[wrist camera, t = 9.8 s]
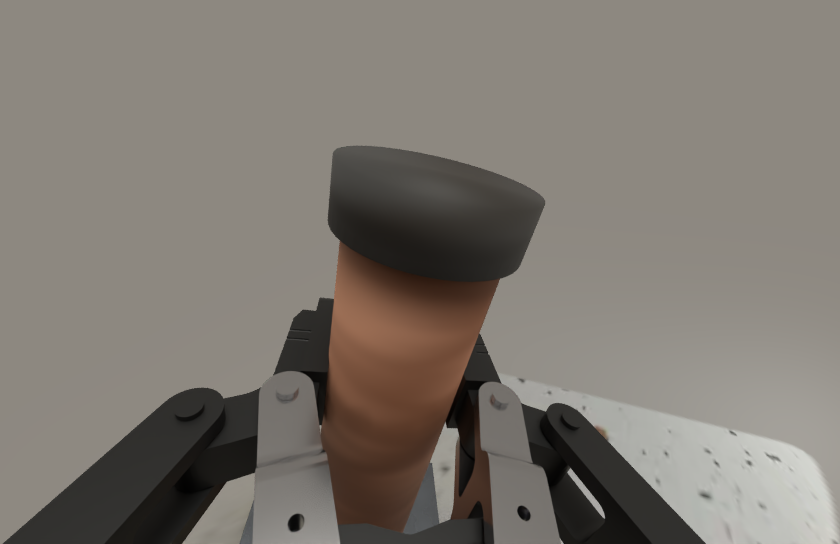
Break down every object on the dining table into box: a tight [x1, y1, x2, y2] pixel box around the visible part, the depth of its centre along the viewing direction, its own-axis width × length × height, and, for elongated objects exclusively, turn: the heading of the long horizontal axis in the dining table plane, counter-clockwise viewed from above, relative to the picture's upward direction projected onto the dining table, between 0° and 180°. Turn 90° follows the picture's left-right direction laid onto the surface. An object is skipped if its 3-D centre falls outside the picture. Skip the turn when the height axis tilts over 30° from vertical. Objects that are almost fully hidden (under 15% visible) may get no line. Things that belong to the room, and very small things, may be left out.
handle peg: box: [321, 146, 545, 533], centre depth 10 cm, size 5×5×15 cm
